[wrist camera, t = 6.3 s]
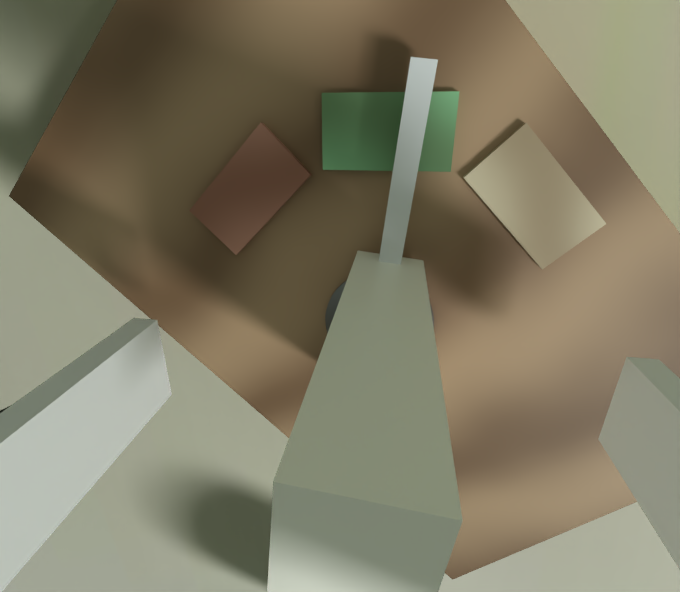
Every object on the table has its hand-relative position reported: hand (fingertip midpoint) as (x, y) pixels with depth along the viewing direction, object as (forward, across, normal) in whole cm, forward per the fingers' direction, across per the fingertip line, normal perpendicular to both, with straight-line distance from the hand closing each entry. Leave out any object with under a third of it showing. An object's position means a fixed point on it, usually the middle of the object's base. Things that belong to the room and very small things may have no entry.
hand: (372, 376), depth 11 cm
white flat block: (+3, 0, +3) cm, 4 cm away
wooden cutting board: (+6, +1, +1) cm, 6 cm away
